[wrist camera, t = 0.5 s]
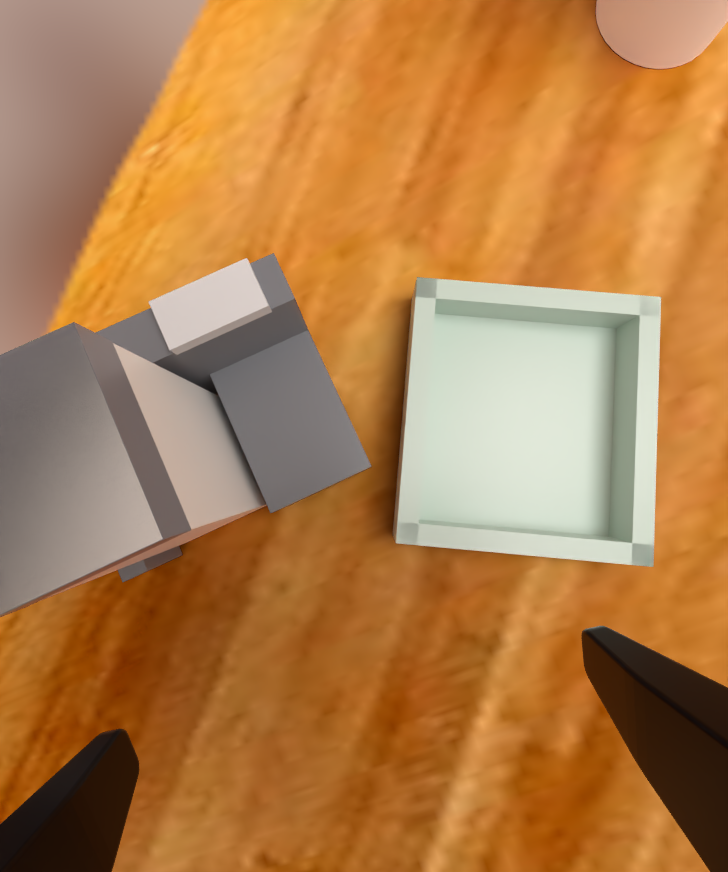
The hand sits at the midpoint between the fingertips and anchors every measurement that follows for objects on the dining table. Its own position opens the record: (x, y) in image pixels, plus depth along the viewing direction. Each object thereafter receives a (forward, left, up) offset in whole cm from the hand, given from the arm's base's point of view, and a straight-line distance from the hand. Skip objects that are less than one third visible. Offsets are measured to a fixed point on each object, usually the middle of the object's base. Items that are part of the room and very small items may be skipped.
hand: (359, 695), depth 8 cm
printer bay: (+6, +7, -14) cm, 17 cm away
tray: (+7, -8, -14) cm, 17 cm away
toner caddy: (+5, +8, -14) cm, 17 cm away
